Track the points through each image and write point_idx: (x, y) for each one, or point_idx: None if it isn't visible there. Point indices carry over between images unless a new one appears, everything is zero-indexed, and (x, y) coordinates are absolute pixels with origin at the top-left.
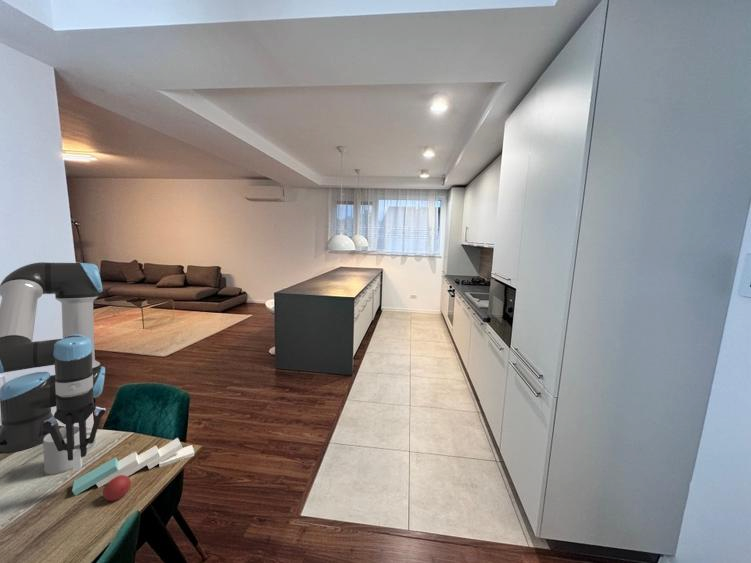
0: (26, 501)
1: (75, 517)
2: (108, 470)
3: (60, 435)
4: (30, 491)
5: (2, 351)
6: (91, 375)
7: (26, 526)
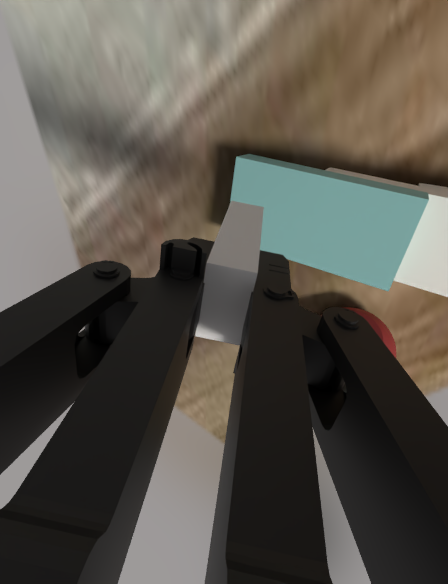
0: (89, 123)
1: None
2: (356, 280)
3: (20, 388)
4: (84, 38)
5: None
6: None
7: None
